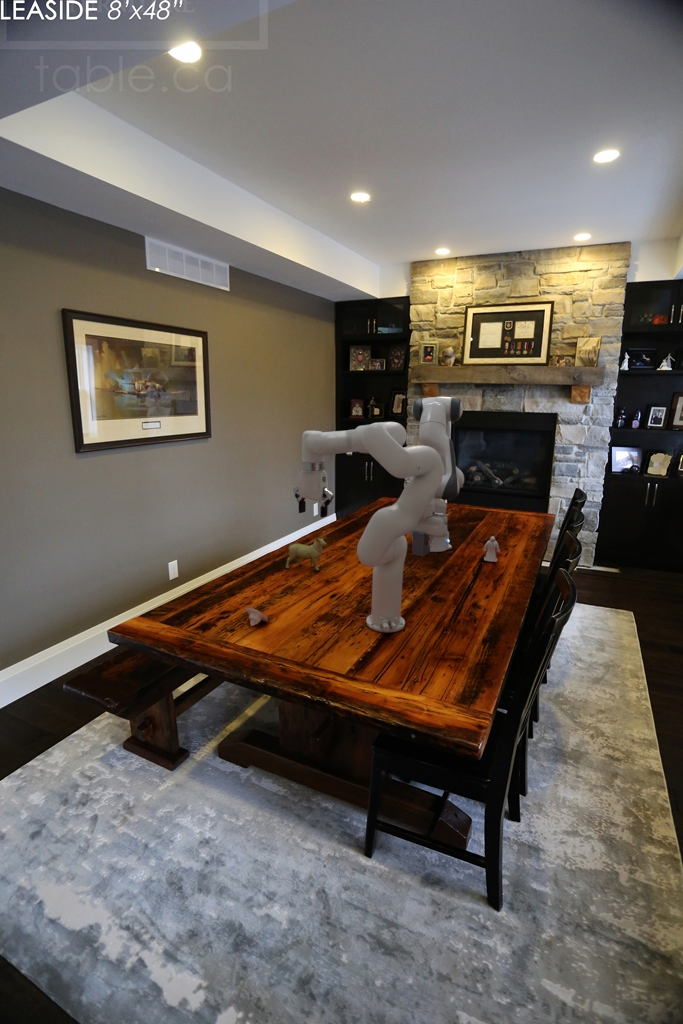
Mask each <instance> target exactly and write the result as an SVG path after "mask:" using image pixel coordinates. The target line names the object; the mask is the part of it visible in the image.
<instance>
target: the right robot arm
mask: <svg viewBox="0 0 683 1024" xmlns="http://www.w3.org/2000/svg"><path fill="white" fill-rule="evenodd" d="M463 411H464V406H463V403H462V400H461V399H460V398H459V397H455V396H452V397H449V396H433V397H431V396H430V397H419V398H416V399H415V400H414V401H413V404H412V407H411V415H412V418H413V420H415V421H416V422H419V426H418V427H419V428H418V439H419V441H420V442H421V444H422V446H429V447H432V448H433V449H435V450H436V451H437V452H438V454H439V455H440V457H441V460H442V463H443V477H442V481H441V483H440V486H439V488H438V490H437V491H436V493H435V495H434V496H433V498H432V499H431V501H430V503H429V505H428V506H427V508H426V510H425V512H424V514H423V515H422V517H421V519H420V521H419V522H418V524H417V526H416V528H415V529H414V530H413V531H419V532H424V533H426V534H427V535H429V538H430V539H429V540H428V541H426V545H429V546H430V553H433V552H434V553H438V552H439V553H440V552H446V551H447V550H451V549H453V546H452V545H451V544H450V532H449V531H448V521H449V520H448V519H449V517H448V516H447V509H448V507H447V503H446V501H450V502H451V501H452V500H454V499H456V498H457V497H458V496H459V493H460V489H461V488H462V487H463V485H464V483H465V475H464V473H463V472H462V470H461V469H460V468H459V467H458V466H457V463H456V454H455V448H454V443H453V440H452V439H451V433H452V432H451V425H453V424H454V423H455V422H458V421H459V420H460V419H461V416H462V414H463ZM413 477H414V476H413ZM413 477H408V483H409V482H410V481H411V480H412V479H413ZM413 531H412V532H411V533H409V535H410V537H411V541H412V540H413Z"/></svg>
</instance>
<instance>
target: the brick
mask: <svg viewBox="0 0 683 1024" xmlns="http://www.w3.org/2000/svg"><path fill="white" fill-rule="evenodd" d="M429 539H430V538H429V535H427V534H426V533H424V532H419V531H413V540H412V539H411V542H412V543H411V554H412V555H415V556H419V557H424V556H427V555H428V554H429V553H431V552H430V546H429V545H426V541H428V540H429Z"/></svg>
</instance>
